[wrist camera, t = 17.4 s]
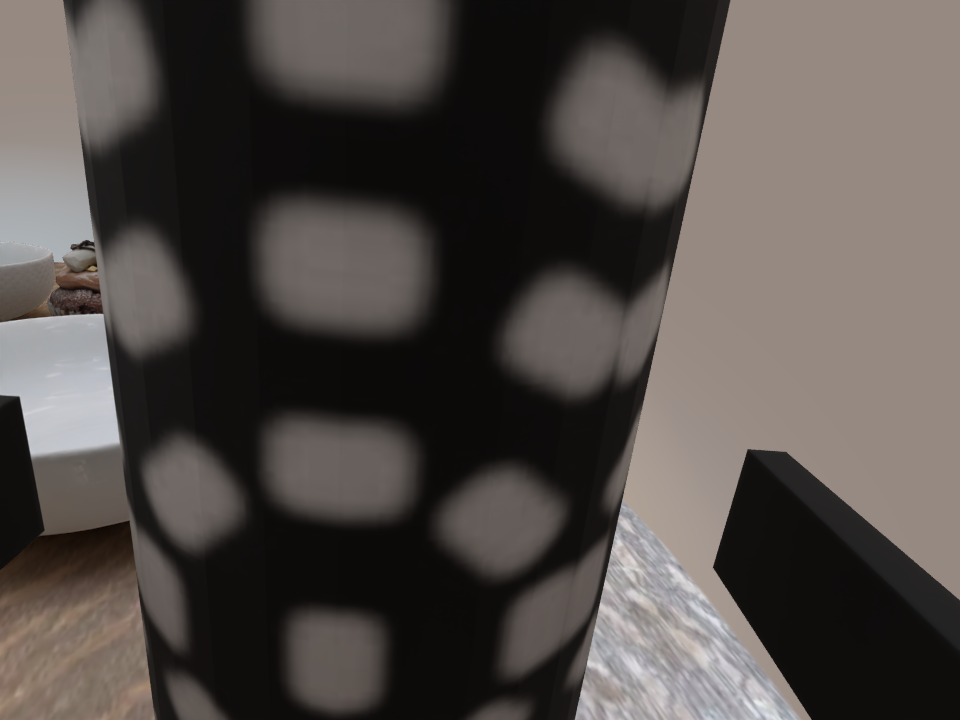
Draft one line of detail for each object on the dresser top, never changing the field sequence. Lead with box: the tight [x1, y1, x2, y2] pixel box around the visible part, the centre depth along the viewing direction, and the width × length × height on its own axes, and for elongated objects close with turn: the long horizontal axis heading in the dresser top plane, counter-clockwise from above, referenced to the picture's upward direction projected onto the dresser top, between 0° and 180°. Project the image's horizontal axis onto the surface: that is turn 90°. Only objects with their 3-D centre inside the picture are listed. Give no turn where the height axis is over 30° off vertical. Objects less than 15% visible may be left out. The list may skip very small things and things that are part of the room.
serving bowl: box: [0, 314, 130, 536], centre depth 30 cm, size 21×21×7 cm
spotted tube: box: [63, 0, 730, 720], centre depth 11 cm, size 8×8×20 cm
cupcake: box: [46, 240, 103, 317], centre depth 47 cm, size 10×10×10 cm
